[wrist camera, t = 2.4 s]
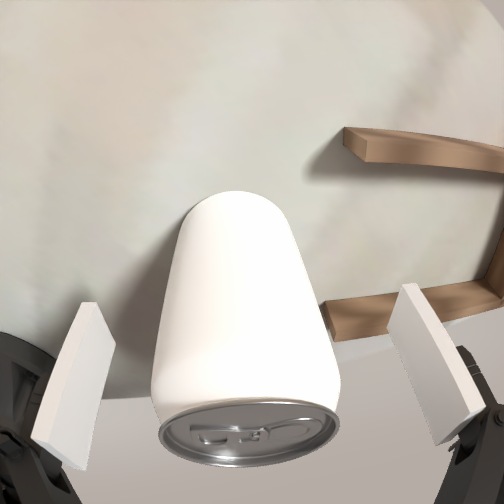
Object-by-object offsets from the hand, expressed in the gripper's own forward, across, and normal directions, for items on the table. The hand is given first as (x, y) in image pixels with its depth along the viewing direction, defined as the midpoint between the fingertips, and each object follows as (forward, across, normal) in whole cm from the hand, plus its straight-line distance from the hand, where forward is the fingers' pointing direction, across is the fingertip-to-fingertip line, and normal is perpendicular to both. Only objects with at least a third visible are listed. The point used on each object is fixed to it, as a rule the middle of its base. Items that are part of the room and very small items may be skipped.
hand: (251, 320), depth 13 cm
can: (+7, -1, 0) cm, 7 cm away
